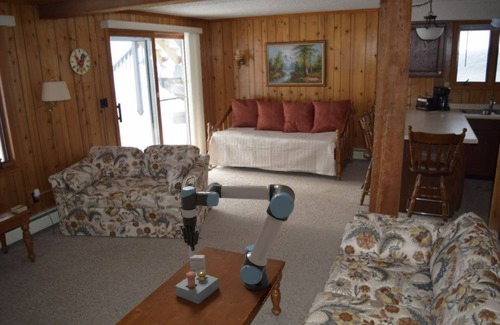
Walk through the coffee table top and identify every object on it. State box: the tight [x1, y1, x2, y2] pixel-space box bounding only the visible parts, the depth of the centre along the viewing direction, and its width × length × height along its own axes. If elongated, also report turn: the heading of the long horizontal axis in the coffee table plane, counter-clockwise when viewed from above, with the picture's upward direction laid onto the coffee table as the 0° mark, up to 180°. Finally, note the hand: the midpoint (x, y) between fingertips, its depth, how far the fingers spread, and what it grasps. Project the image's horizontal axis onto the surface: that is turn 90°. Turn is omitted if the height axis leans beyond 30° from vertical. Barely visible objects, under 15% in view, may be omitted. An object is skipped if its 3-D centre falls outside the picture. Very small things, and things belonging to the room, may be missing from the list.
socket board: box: [174, 271, 220, 305], centre depth 230 cm, size 16×18×6 cm
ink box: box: [189, 254, 207, 272], centre depth 248 cm, size 9×5×12 cm, turn 84°
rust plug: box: [185, 271, 196, 289], centre depth 225 cm, size 5×5×9 cm
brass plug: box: [197, 270, 208, 282], centre depth 233 cm, size 5×5×9 cm
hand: (191, 255), depth 224 cm, fingers closed
